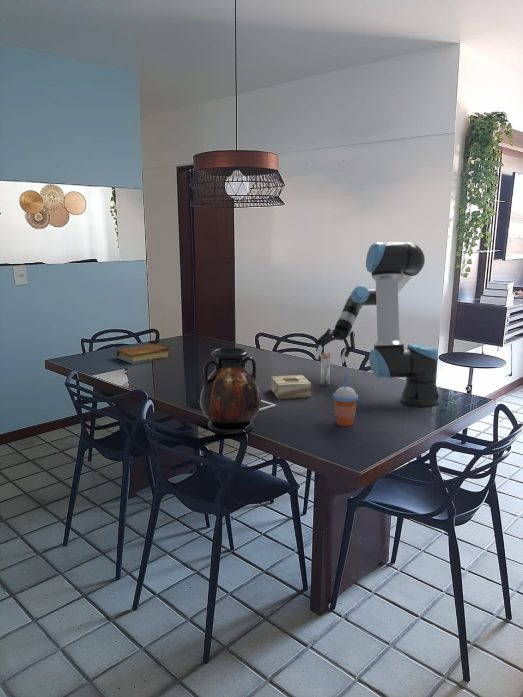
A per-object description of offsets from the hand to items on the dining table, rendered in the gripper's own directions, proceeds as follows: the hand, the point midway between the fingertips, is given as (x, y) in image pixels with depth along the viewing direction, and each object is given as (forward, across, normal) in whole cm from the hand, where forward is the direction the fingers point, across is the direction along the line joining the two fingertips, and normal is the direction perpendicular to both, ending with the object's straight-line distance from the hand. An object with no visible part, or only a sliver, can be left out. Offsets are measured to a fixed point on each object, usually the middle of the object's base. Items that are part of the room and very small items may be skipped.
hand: (328, 359), depth 249 cm
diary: (+21, +108, +5) cm, 110 cm away
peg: (+10, -1, -4) cm, 11 cm away
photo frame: (+43, +8, +27) cm, 51 cm away
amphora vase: (+59, -4, +45) cm, 74 cm away
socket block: (+25, +4, +11) cm, 28 cm away
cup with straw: (+39, -34, +25) cm, 58 cm away
